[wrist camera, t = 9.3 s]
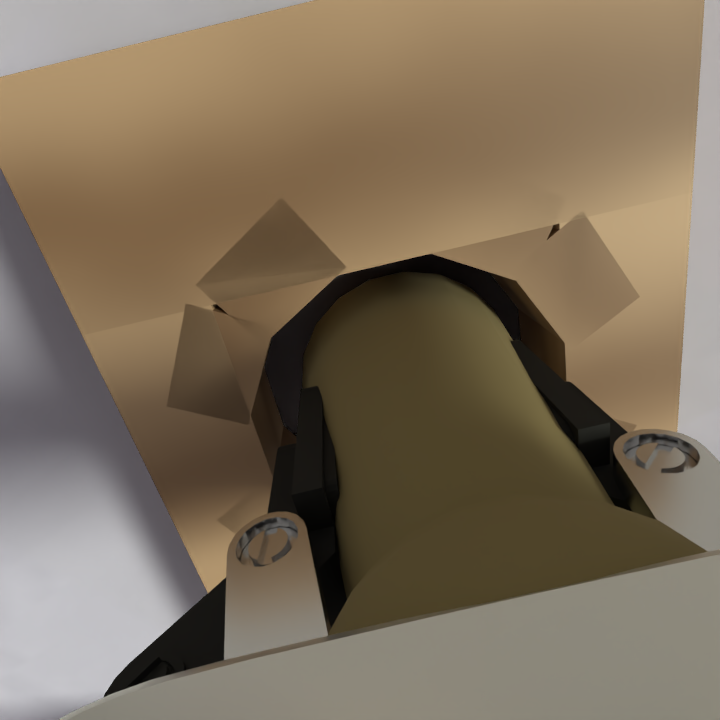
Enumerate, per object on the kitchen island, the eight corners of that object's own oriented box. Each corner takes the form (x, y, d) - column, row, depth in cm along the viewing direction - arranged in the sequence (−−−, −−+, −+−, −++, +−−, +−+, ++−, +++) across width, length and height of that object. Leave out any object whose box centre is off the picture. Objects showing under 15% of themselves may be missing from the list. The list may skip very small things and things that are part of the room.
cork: (531, 421, 14) (1021, 1032, 4) (349, 489, 15) (406, 1178, 5) (478, 234, 12) (1283, 618, 2) (264, 322, 13) (26, 994, 2)
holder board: (48, 105, 11) (-40, 86, 9) (614, -32, 11) (710, -96, 8) (265, 611, 18) (255, 690, 16) (614, 533, 18) (666, 599, 15)
